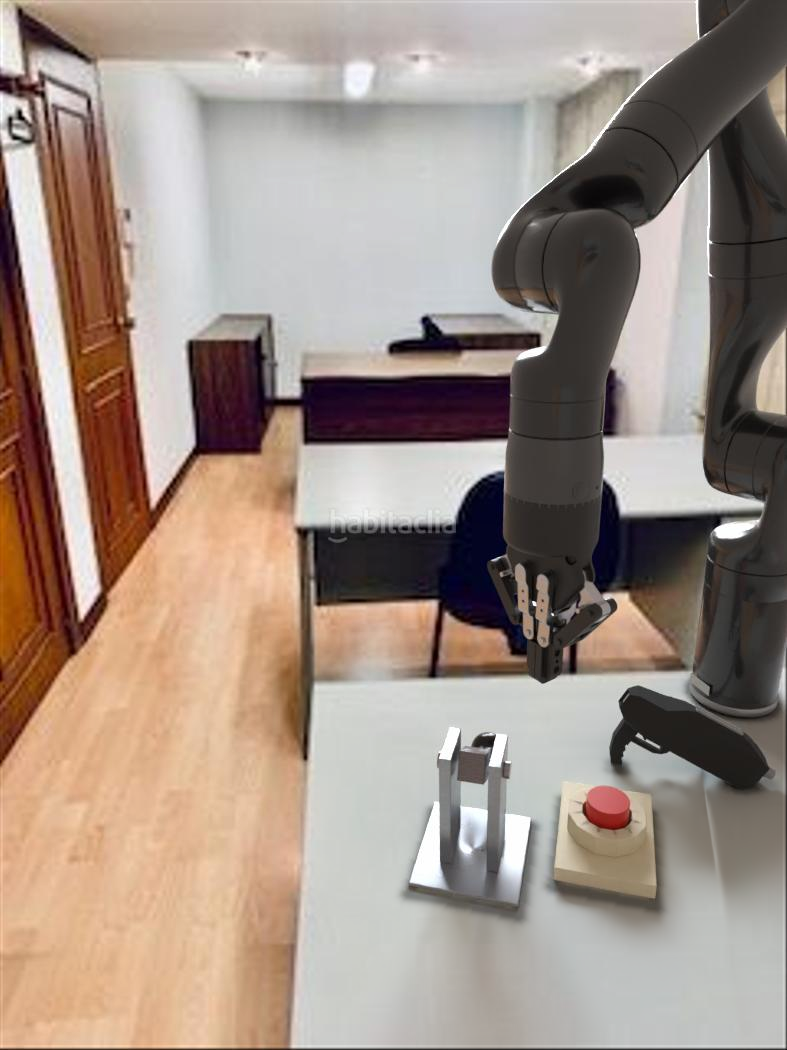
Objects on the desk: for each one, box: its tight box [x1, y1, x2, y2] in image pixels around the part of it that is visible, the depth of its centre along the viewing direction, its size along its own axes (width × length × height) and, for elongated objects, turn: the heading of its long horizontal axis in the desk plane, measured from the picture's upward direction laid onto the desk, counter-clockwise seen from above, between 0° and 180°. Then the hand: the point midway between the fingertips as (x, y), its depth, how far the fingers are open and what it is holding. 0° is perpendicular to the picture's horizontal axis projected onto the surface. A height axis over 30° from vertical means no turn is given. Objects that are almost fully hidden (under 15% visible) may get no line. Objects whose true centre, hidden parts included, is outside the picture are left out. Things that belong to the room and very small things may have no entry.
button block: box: [553, 780, 658, 900], centre depth 66 cm, size 11×8×4 cm
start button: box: [586, 785, 630, 830], centre depth 65 cm, size 4×4×2 cm
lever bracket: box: [408, 726, 532, 908], centre depth 64 cm, size 10×9×12 cm
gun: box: [608, 684, 777, 791], centre depth 75 cm, size 3×16×10 cm, turn 78°
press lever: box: [457, 731, 497, 786], centre depth 67 cm, size 12×3×3 cm, turn 164°
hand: (543, 677), depth 65 cm, fingers closed
